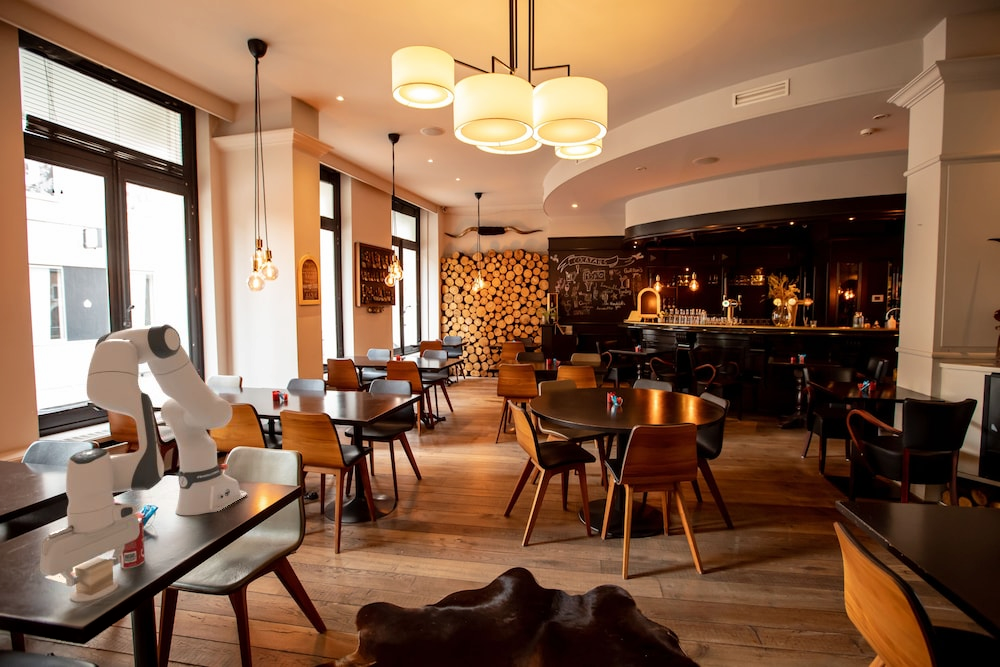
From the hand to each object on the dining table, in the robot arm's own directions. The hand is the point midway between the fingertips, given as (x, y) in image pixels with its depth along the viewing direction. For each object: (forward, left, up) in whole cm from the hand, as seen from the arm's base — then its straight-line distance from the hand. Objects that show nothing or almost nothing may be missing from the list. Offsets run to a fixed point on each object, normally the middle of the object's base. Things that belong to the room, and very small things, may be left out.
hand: (94, 574), depth 118 cm
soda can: (-12, -5, -4) cm, 13 cm away
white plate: (0, 0, -4) cm, 4 cm away
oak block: (0, 0, -4) cm, 4 cm away
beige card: (-4, -15, -4) cm, 16 cm away
